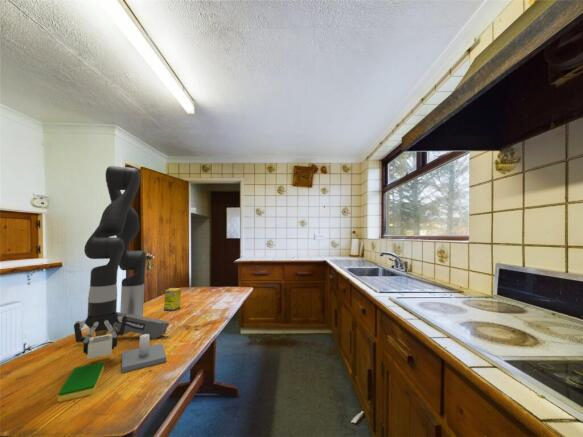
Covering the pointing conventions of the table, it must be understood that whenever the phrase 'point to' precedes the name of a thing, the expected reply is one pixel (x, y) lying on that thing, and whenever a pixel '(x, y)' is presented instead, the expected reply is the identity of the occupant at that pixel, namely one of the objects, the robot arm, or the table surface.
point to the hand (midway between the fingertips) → (100, 350)
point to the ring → (100, 346)
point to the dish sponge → (81, 382)
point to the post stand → (143, 355)
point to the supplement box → (172, 299)
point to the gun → (140, 326)
